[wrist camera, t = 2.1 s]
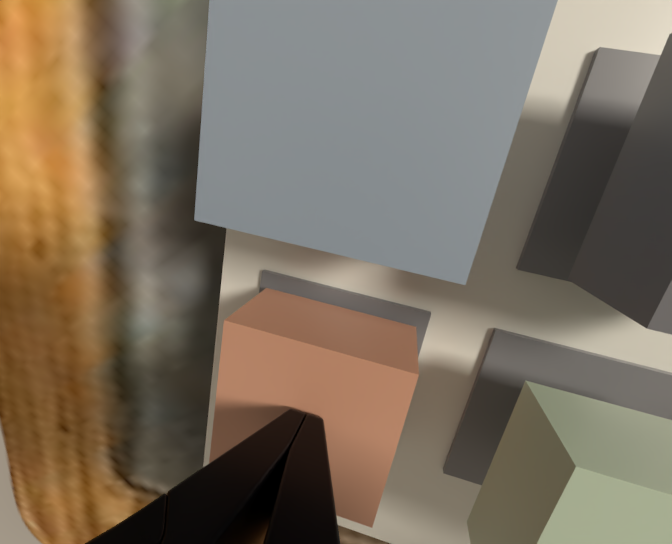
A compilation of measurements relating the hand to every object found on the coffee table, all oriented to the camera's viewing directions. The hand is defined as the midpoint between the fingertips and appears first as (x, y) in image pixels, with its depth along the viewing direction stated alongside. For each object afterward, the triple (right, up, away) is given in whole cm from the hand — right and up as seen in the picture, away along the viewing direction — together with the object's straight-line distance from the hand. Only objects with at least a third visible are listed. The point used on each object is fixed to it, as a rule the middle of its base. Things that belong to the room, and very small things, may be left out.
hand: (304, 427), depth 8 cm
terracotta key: (0, +1, +2) cm, 2 cm away
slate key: (+1, +7, -1) cm, 7 cm away
